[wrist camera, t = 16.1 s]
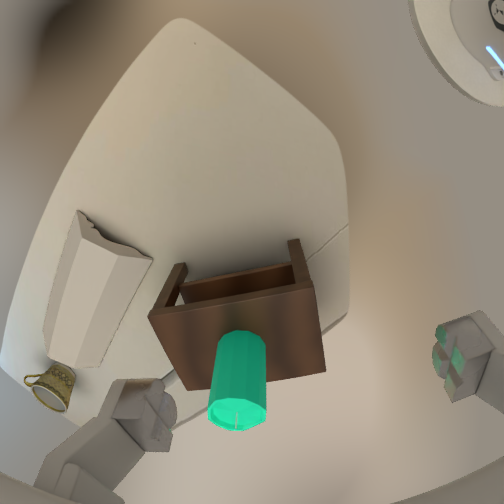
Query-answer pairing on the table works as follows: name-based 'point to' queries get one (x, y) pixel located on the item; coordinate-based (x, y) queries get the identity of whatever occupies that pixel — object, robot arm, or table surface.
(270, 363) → the stand
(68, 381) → the ceramic cup
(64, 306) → the molding piece
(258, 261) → the table surface
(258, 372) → the candle
